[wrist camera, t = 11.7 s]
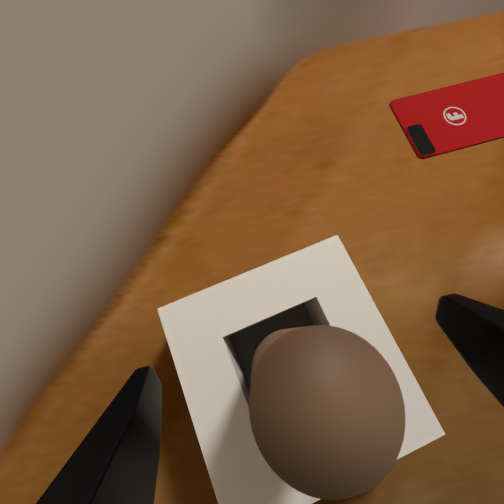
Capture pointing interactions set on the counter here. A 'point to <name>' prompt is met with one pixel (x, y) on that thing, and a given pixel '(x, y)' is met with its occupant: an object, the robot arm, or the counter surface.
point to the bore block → (242, 349)
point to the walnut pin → (325, 410)
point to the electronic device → (453, 116)
